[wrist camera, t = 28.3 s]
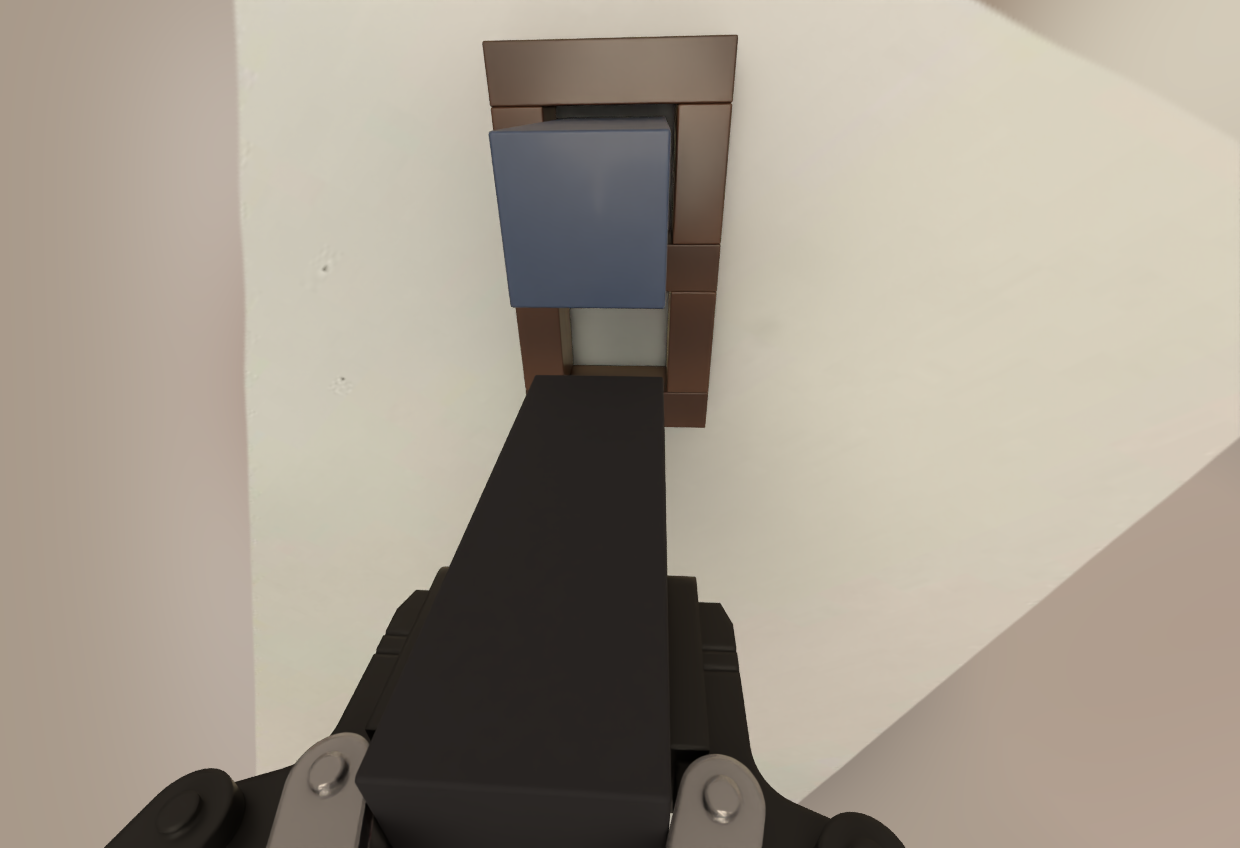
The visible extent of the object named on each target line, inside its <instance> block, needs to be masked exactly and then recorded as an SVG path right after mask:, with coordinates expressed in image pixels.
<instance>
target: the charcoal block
mask: <svg viewBox="0 0 1240 848" xmlns="http://www.w3.org/2000/svg"><path fill="white" fill-rule="evenodd" d="M355 784H356V786H357V787H358V789H359V791H360V793H361V794H362V796H363V798H364V799H365V801H366V803H367V804H368V806H369V808H370V810H371V811H372V813H373V815H374V816H375V818H376V820H377V822H378V823H379V825H380V827H381V828H382V830H383V832H384V833H385V835H386V837H387V839H388V840H389V842H390V844H391V845H392V847H393V848H665V846H666V842H667V837H668V833H669V822H670V810H671V747H670V694H669V641H668V588H667V535H666V482H665V428H664V379H663V377H648V376H581V375H535V377H534V379H533V381H532V384H531V386H530V388H529V390H528V393H527V395H526V397H525V399H524V402H523V404H522V406H521V408H520V410H519V413H518V415H517V417H516V419H515V422H514V424H513V426H512V428H511V430H510V433H509V435H508V437H507V439H506V442H505V444H504V446H503V448H502V451H501V453H500V455H499V457H498V459H497V462H496V464H495V466H494V468H493V471H492V473H491V475H490V477H489V479H488V482H487V484H486V486H485V488H484V491H483V493H482V495H481V497H480V499H479V502H478V504H477V506H476V508H475V511H474V513H473V515H472V517H471V520H470V522H469V524H468V526H467V528H466V531H465V533H464V535H463V537H462V540H461V542H460V544H459V546H458V548H457V551H456V553H455V555H454V557H453V560H452V562H451V564H450V566H449V569H448V571H447V573H446V575H445V577H444V580H443V582H442V584H441V586H440V589H439V591H438V593H437V595H436V597H435V600H434V602H433V604H432V606H431V609H430V611H429V613H428V615H427V617H426V620H425V622H424V624H423V626H422V629H421V631H420V633H419V635H418V638H417V640H416V642H415V644H414V646H413V649H412V651H411V653H410V655H409V658H408V660H407V662H406V664H405V666H404V669H403V671H402V673H401V675H400V678H399V680H398V682H397V684H396V687H395V689H394V691H393V693H392V695H391V698H390V700H389V702H388V704H387V707H386V709H385V711H384V713H383V715H382V718H381V720H380V722H379V724H378V727H377V729H376V731H375V733H374V736H373V738H372V740H371V742H370V744H369V747H368V749H367V751H366V753H365V756H364V758H363V760H362V762H361V764H360V767H359V769H358V771H357V773H356V776H355Z"/></svg>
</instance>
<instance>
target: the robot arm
mask: <svg viewBox="0 0 1240 848" xmlns="http://www.w3.org/2000/svg"><path fill="white" fill-rule="evenodd" d="M448 569H449V567H442V568H441V569H440V570H439V571H438V573H437V575H436V577H435V579H434V581H433V583H432V585H431V588H430V590H429V591H428V590H416V591H415V592H414V593H413V594H412V595H411V596H410V597H409V598H408V599H407V600H406V601H405V602H404V603H403V604H402V605H401V606H400V607H399V608H397V610H396V612H395V614H394V616H393V618H392V620H391V622H390V624H389V626H388V628H387V630H386V634H385V635H383V637H382V639H381V641H380V643H379V645H378V647H377V649H376V654H374V655H373V657H372V659H371V661H370V663H369V665H368V667H367V668H366V670H365V672H364V674H363V676H362V678H361V680H360V682H359V684H358V686H357V688H356V690H355V692H354V694H353V696H352V698H351V700H350V702H349V703H348V705H347V707H346V709H345V711H344V713H343V715H342V717H341V719H340V721H339V723H338V725H337V726H336V728H335V730H334V731H333V732H332V734H331V735H330V736H329V737H326V738H324V739H322V740H321V741H319V742H317V743H316V744H314V745H313V746H312V747H310V748H309V749H308V750H307V751H306V752H305V753H304V754H303V755H302V756H301V757H300V758H299V759H298V761H297V762H296V763H295V764H293V765H291V766H288V767H285V768H283V769H279V770H276V771H272V772H269V773H265V774H262V775H258V776H255V777H251V778H248V779H244V780H241V781H237V782H234V781H233V780H232V779H231V777H230V776H229V775H228V774H227V773H226V772H224V771H222V770H220V769H214V768H209V769H202V770H198V771H195V772H192V773H189V774H187V775H185V776H183V777H181V778H179V779H178V780H176V781H175V782H173V783H171V784H170V785H169V786H167V787H166V788H165V789H164V790H162V791H161V792H160V793H159V794H158V795H157V796H156V797H155V798H154V799H153V800H152V801H151V802H150V803H149V804H148V805H147V806H146V807H145V808H144V809H143V810H142V811H141V812H140V813H139V814H137V816H136V817H134V818H133V819H132V821H130V822H129V823H128V824H127V825H126V827H124V828H123V829H122V830H121V831H120V832H119V833H118V834H117V835H116V837H114V838H113V839H112V840H111V841H110V842H109V843H108V844H107V845H106V846H105V847H104V848H393V847H392V845H391V844H390V842H389V840H388V839H387V837H386V835H385V833H384V832H383V830H382V828H381V827H380V825H379V823H378V822H377V820H376V818H375V816H374V815H373V813H372V811H371V810H370V808H369V806H368V804H367V803H366V801H365V799H364V798H363V796H362V794H361V793H360V791H359V789H358V787H357V786H356V784H355V776H356V773H357V771H358V769H359V767H360V764H361V762H362V760H363V758H364V756H365V753H366V751H367V749H368V747H369V744H370V742H371V740H372V738H373V736H374V733H375V731H376V729H377V727H378V724H379V722H380V720H381V718H382V715H383V713H384V711H385V709H386V707H387V704H388V702H389V700H390V698H391V695H392V693H393V691H394V689H395V687H396V684H397V682H398V680H399V678H400V675H401V673H402V671H403V669H404V666H405V664H406V662H407V660H408V658H409V655H410V653H411V651H412V649H413V646H414V644H415V642H416V640H417V638H418V635H419V633H420V631H421V629H422V626H423V624H424V622H425V620H426V617H427V615H428V613H429V611H430V609H431V606H432V604H433V602H434V600H435V597H436V595H437V593H438V591H439V589H440V586H441V584H442V582H443V580H444V577H445V575H446V573H447V571H448ZM667 588H668V641H669V694H670V747H671V810H670V813H673V816H672V820H671V824H670V829H669V833H668V837H667V842H666V846H665V848H905V847H904V845H903V844H902V842H901V841H900V840H899V839H898V838H897V836H896V835H895V834H894V833H893V832H892V831H891V830H890V829H889V828H888V827H886V826H884V825H883V824H882V823H881V822H879V821H878V820H876V819H874V818H872V817H870V816H867V815H865V814H862V813H856V812H845V813H840V814H838V815H836V816H834V817H832V818H831V819H830V818H828V817H826V816H823V815H821V814H819V813H816V812H814V811H812V810H809V809H807V808H805V807H803V806H800V805H798V804H796V803H794V802H792V801H790V800H788V799H786V798H784V797H783V796H782V795H780V794H779V793H777V792H776V791H775V790H774V789H773V788H772V787H771V786H770V785H769V784H768V783H767V782H766V780H765V779H764V778H763V776H762V775H761V773H760V772H759V770H758V768H757V766H756V764H755V762H754V759H753V756H752V753H751V748H750V741H749V734H748V727H747V720H746V713H745V706H744V699H743V692H742V685H741V678H740V673H739V664H738V657H737V653H736V643H735V636H734V629H733V624H732V622H731V620H730V619H729V617H728V615H727V614H726V612H725V610H724V609H723V607H722V605H721V604H720V603H705V602H698V593H697V582H696V577H690V576H667Z"/></svg>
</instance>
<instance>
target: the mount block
mask: <svg viewBox="0 0 1240 848" xmlns="http://www.w3.org/2000/svg"><path fill="white" fill-rule="evenodd" d="M737 44H738V35H703V36H663V37H623V38H584V39H544V40H505V41H483V43H482V45H483V53H484V61H485V69H486V77H487V85H488V93H489V101H490V106H491V107H492V108H491V115H492V123H493V131H494V130H499V129H505V128H511V127H517V126H523V125H528V124H534V123H540V122H546V121H552V120H557V117H556V107H555V106H578V105H635V104H676V105H675V128H674V157H673V185H672V214H671V230H668V243H667V272H666V291H669V299H668V327H667V356H666V366H594V365H573V351H572V337H571V322H570V308H516V315H517V323H518V331H519V339H520V347H521V355H522V363H523V371H524V379H525V387H526V395H527V393H528V390H529V388H530V386H531V384H532V381H533V379H534V377H535V375H581V376H648V377H663V379H664V427H695V428H705V424H706V412H707V400H708V388H709V376H710V364H711V352H712V340H713V328H714V317H715V305H716V291H717V282H718V270H719V258H720V242H721V233H722V221H723V210H724V198H725V186H726V174H727V162H728V150H729V138H730V127H731V115H732V104H731V102H732V101H733V92H734V80H735V68H736V56H737Z"/></svg>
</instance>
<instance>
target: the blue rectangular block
mask: <svg viewBox="0 0 1240 848" xmlns="http://www.w3.org/2000/svg"><path fill="white" fill-rule="evenodd" d="M489 141H490V148H491V156H492V164H493V172H494V180H495V187H496V195H497V203H498V211H499V219H500V226H501V234H502V242H503V250H504V258H505V265H506V273H507V281H508V289H509V297H510V304H511V307H513V308H628V309H663V308H665V302H666V272H667V243H668V213H669V183H670V153H671V130H670V128H669V125H668V123H667V120H666V118H665V117H664V116H654V117H582V118H563V119H558V120H552V121H546V122H540V123H534V124H528V125H523V126H517V127H511V128H505V129H499V130H494V131H490V132H489Z"/></svg>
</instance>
